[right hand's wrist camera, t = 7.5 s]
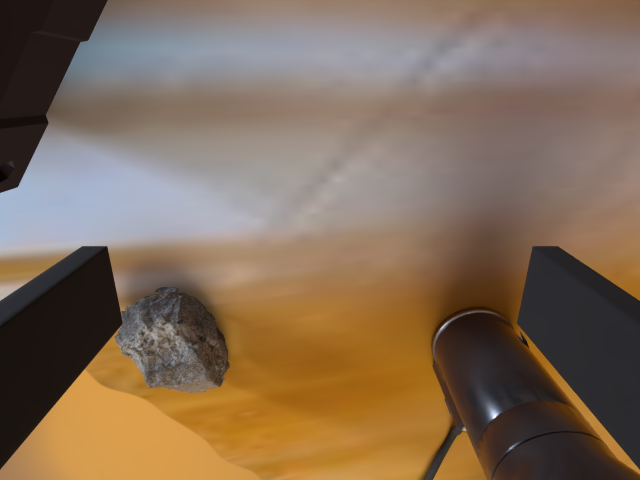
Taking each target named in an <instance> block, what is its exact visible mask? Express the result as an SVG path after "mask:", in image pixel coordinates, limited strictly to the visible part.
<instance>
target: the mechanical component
mask: <svg viewBox="0 0 640 480" xmlns="http://www.w3.org/2000/svg"><path fill="white" fill-rule="evenodd" d="M106 2H107V0H0V193H1V192H4V191H7V190H10V189H13V188H16V187H18V185H19V183H20V181H21V179H22V177H23V175H24V173H25V171H26V169H27V167H28V165H29V163H30V160H31V158H32V156H33V154H34V152H35V150H36V148H37V146H38V144H39V142H40V140H41V138H42V135H43V133H44V131H45V129H46V127H47V125H48V120H47V117H46V113H47V111H48V109H49V107H50V105H51V103H52V101H53V98H54V96H55V94H56V92H57V90H58V88H59V86H60V84H61V82H62V79H63V77H64V75H65V73H66V71H67V69H68V67H69V65H70V63H71V60H72V58H73V56H74V54H75V52H76V50H77V48H78V46H79V44H80V42H83V41H88V40H89V38H90V36H91V33H92V31H93V29H94V27H95V25H96V23H97V21H98V19H99V17H100V15H101V13H102V11H103V8H104V6H105V4H106Z"/></svg>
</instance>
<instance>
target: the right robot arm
mask: <svg viewBox="0 0 640 480" xmlns="http://www.w3.org/2000/svg"><path fill="white" fill-rule="evenodd" d="M122 324H123V321H122V316H121V312H120V307H119V302H118V297H117V292H116V287H115V282H114V277H113V272H112V267H111V263H110V258H109V253H108V248H107V246H82V247H81V248H79V249H78V250H76V251H75V252H73V253H72V254H70V255H69V256H67V257H66V258H64V259H63V260H61V261H60V262H58V263H57V264H55V265H54V266H52V267H51V268H49V269H48V270H46V271H45V272H43V273H42V274H40V275H39V276H37V277H36V278H34V279H33V280H31V281H30V282H28V283H27V284H25V285H24V286H22V287H21V288H19V289H18V290H16V291H15V292H13V293H12V294H10V295H9V296H7V297H5V298H4V299H2V300H1V301H0V469H1V468H2V467H3V466H4V464H5V463H6V462H7V461H8V460H9V458H10V457H11V456H12V455H13V454H14V452H15V451H16V450H17V449H18V448H19V447H20V445H21V444H22V443H23V442H24V441H25V439H26V438H27V437H28V436H29V435H30V433H31V432H32V431H33V430H34V429H35V427H36V426H37V425H38V424H39V423H40V422H41V420H42V419H43V418H44V417H45V416H46V414H47V413H48V412H49V411H50V410H51V408H52V407H53V406H54V405H55V404H56V402H57V401H58V400H59V399H60V398H61V397H62V395H63V394H64V393H65V392H66V391H67V389H68V388H69V387H70V386H71V385H72V383H73V382H74V381H75V380H76V379H77V377H78V376H79V375H80V374H81V373H82V371H83V370H84V369H85V368H86V367H87V366H88V364H89V363H90V362H91V361H92V360H93V358H94V357H95V356H96V355H97V354H98V352H99V351H100V350H101V349H102V348H103V346H104V345H105V344H106V343H107V342H108V340H109V339H110V338H111V337H112V336H113V335H114V333H115V332H116V331H117V330H118V329H119V327H120V326H121V325H122ZM517 324H518V325H519V326H520V327H521V329H522V330H523V331H524V332H525V333H526V335H527V336H528V337H529V338H530V339H531V340H532V342H533V343H534V344H535V345H536V346H537V348H538V349H539V350H540V351H541V352H542V354H543V355H544V356H545V357H546V358H547V360H548V361H549V362H550V363H551V364H552V366H553V367H554V368H555V369H556V370H557V371H558V373H559V374H560V375H561V376H562V377H563V379H564V380H565V381H566V382H567V383H568V385H569V386H570V387H571V388H572V389H573V391H574V392H575V393H576V394H577V395H578V397H579V398H580V399H581V400H582V401H583V402H584V404H585V405H586V406H587V407H588V408H589V410H590V411H591V412H592V413H593V414H594V416H595V417H596V418H597V419H598V420H599V422H600V423H601V424H602V425H603V426H604V427H605V429H606V430H607V431H608V432H609V433H610V435H611V436H612V437H613V438H614V439H615V441H616V442H617V443H618V444H619V445H620V447H621V448H622V449H623V450H624V451H625V453H626V454H627V455H628V456H629V457H630V458H631V460H632V461H633V462H634V463H635V464H636V466H637V467H638V468H639V469H640V301H639V300H638V299H636V298H635V297H633V296H631V295H630V294H628V293H627V292H625V291H624V290H622V289H621V288H619V287H618V286H616V285H615V284H613V283H612V282H610V281H609V280H607V279H606V278H604V277H603V276H601V275H600V274H598V273H597V272H595V271H594V270H592V269H591V268H589V267H588V266H586V265H585V264H583V263H582V262H580V261H579V260H577V259H576V258H574V257H573V256H571V255H570V254H568V253H567V252H565V251H564V250H562V249H561V248H559V247H558V246H533V248H532V253H531V258H530V263H529V267H528V272H527V277H526V282H525V287H524V292H523V297H522V302H521V307H520V312H519V316H518V321H517Z"/></svg>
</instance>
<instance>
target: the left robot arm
mask: <svg viewBox="0 0 640 480" xmlns="http://www.w3.org/2000/svg"><path fill="white" fill-rule="evenodd" d="M520 334H521V332H520ZM521 337H522V339H523V341H522V339H521V338H520V337H519V336H518V334H517V333H516V332H515V331H514V329H513V327H512V325H511V324H510V323H509V322H508V320H507V319H506V318H505V317H504V316H502V315H501V314H500V313H498V312H496V311H494V310H491V309H487V308H469V309H465V310H462V311H459V312H457V313H455V314H453V315H451V316H450V317H448V318H447V319H446V320H444V321H443V322H442V323H441V324H440V326H439V327H438V328H437V330H436V332H435V334H434V336H433V339H432V353H433V356H434V359H435V361H434V364H433V369H434V371H435V374H436V376H437V379H438V381H439V384H440V386H441V388H442V391H443V393H444V396H445V402H446V404H447V407H448V409H449V412H450V414H451V415H452V416H453V418H454V421H455V423H456V426H455V427H453V428H452V430H451V431H450V433H449V434H448V436H447V438H446V440H445V442H444V443H443V445H442V447H441V449H440V450H439V452H438V454H437V456H436V458H435V460H434V462H433V464H432V466H431V468H430V470H429V472H428V474H427V476H426V478H425V479H424V480H433V478H434V477H435V475H436V473H437V471H438V469H439V467H440V465H441V463H442V461H443V459H444V457H445V455H446V453H447V452H448V450H449V448H450V446H451V444H452V443H453V441H454V439H455V438H456V436H457V435H459V434H461V432H462V431H463V432H467V434H468V436H469V438H470V441H471V443H472V445H473V448H474V450H475V452H476V455H477V457H478V459H479V462H480V464H481V466H482V468H483V471H484V473H485V475H486V478H487V480H640V474H639V473H637V472H636V471H634V470H633V469H631V468H630V467H628V466H627V465H625V464H624V463H622V462H621V461H620V460H618V458H617V457H616V456H615V455H614V454H613V453H612V451H611V450H610V449H609V448H608V446H607V445H606V444H605V442H604V441H603V440H602V439H601V438H600V436H599V435H598V434H597V433H596V431H595V430H594V429H593V428H592V426H591V425H590V424H589V423H588V421H587V420H586V419H585V418H584V416H583V415H582V414H581V413H580V412H579V410H578V409H577V408H576V407H575V405H574V404H573V403H572V402H571V400H570V399H569V398H568V397H567V395H566V394H565V393H564V392H563V390H562V389H561V388H560V387H559V385H558V384H557V383H556V382H555V380H554V379H553V378H552V377H551V375H550V374H549V373H548V372H547V370H546V369H545V368H544V367H543V365H542V364H541V363H540V362H539V360H538V359H537V358H536V357H535V356H534V354H533V353H532V352H531V351H530V349H529V346H528V344H527V341H526V338H525V337H524V336H523V335H522V334H521Z"/></svg>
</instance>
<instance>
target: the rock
mask: <svg viewBox="0 0 640 480" xmlns="http://www.w3.org/2000/svg"><path fill="white" fill-rule="evenodd" d="M155 292H161V293H164V294H163V295H160V294H159V295H154V296H150V297H149V296H148V297H145V298H143V299H141V300H139V302H138V303H137V302H136V303H133V304H132V305H130V306H128V307H127V308H125V311H121V314H122V321H123V324H122V325H121V328H120V330H119V331H118V334H117V335H116V336H115V340H116V343H117V344H118V345H119V346H120V348H121V352H122V354H123V355H125V356H127V357H128V358H132V360H133V361H134V363H135V365H137V367H138V368H139V369H140V371H141V372H142V374H143V376H144V378H145V382H146V384H147V386H148V388H150V387H153V388H159V387H165V388H167V389H173V390H177V391H182V392H188V393H193V392H205V391H206V390H207V389H211V388H217V387H220V386H221V385H222V382H223V381H224V380H225V378H224V373H226V371H227V369H228V368H229V362H228V360H227V357H228V355H227V354H228V351H227V349H226V346H225V339H224V336H223V335H222V334H221V333H220V331H219V330H218V328H217V327H216V323H215V318H214V317H213V316H212V315H211V314H210V313H209V312H207V311H206V310H205V309H206V308H205V307H204V306H203V305H202V303H201V302H200V301H198V299H196V298H195V297H191V296H187V295H186V294H185V293H179V292H178V289H177V288H173V287H172V288H171V287H169V288H168V287H162V288H160V289H158V290H157V291H155Z"/></svg>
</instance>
